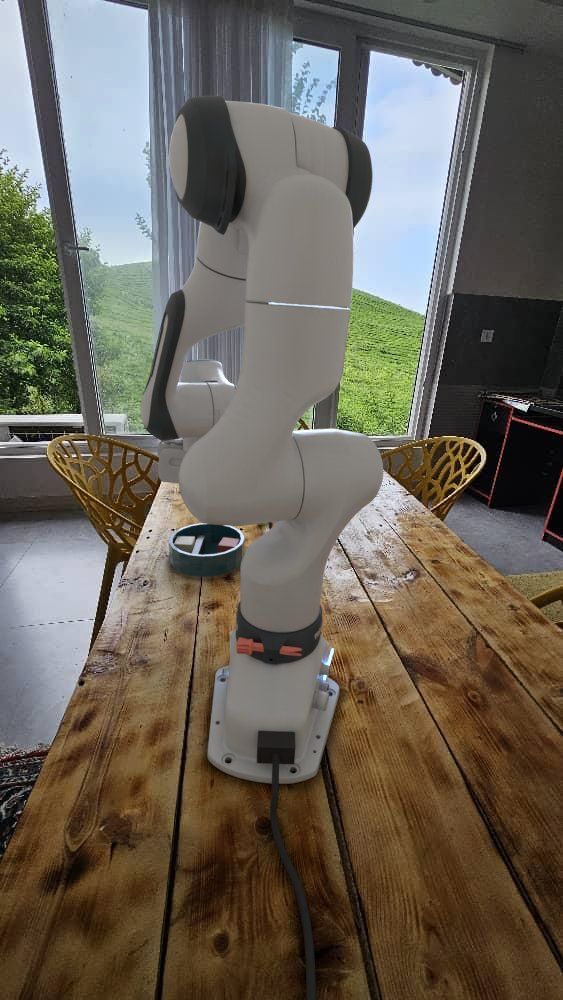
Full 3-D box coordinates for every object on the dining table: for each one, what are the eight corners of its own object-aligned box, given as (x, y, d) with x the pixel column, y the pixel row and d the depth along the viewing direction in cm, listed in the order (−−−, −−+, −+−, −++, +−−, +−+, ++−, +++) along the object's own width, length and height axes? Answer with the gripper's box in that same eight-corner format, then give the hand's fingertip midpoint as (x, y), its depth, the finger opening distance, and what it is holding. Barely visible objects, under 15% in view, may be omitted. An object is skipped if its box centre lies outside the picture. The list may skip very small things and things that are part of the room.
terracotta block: (235, 562, 100) (235, 547, 98) (218, 560, 100) (217, 545, 99) (240, 554, 103) (240, 539, 102) (223, 552, 104) (223, 537, 102)
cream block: (192, 560, 100) (191, 544, 98) (174, 559, 100) (173, 544, 98) (195, 551, 104) (195, 536, 102) (178, 551, 103) (177, 535, 102)
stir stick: (196, 572, 95) (196, 560, 94) (189, 572, 95) (188, 559, 94) (205, 546, 106) (204, 535, 105) (198, 546, 106) (198, 535, 105)
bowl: (234, 582, 93) (234, 559, 91) (158, 574, 95) (157, 552, 93) (250, 546, 108) (250, 526, 106) (184, 540, 110) (183, 519, 108)
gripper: (150, 441, 90) (155, 504, 95) (248, 448, 87) (248, 513, 92) (163, 434, 96) (167, 494, 101) (255, 441, 93) (255, 503, 98)
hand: (206, 503), depth 96 cm, fingers closed
